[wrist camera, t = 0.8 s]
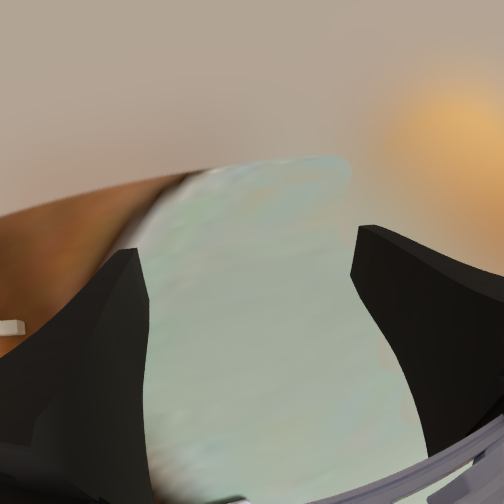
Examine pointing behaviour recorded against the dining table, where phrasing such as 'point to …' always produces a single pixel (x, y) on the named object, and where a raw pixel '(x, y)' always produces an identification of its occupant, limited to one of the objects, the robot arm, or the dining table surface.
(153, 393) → the dining table surface
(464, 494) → the robot arm
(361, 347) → the dining table surface
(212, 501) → the dining table surface
